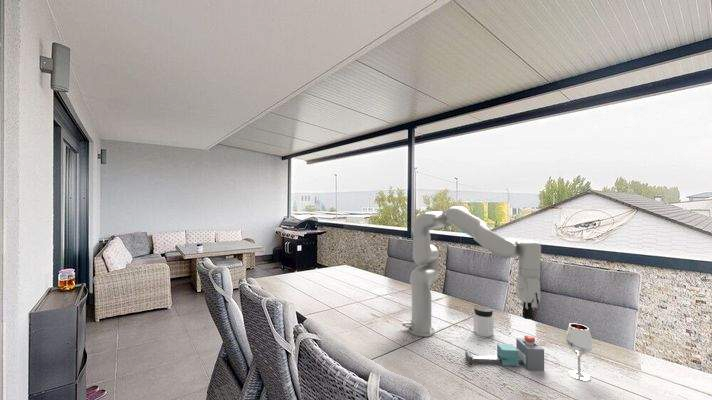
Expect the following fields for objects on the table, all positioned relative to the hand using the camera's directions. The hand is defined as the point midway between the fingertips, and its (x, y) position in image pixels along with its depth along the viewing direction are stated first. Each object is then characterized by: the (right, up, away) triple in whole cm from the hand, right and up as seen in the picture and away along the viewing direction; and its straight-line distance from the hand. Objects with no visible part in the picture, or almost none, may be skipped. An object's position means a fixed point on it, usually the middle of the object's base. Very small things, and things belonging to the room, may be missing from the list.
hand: (527, 318), depth 116 cm
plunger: (0, -13, -1) cm, 13 cm away
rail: (-13, -18, 0) cm, 22 cm away
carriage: (-8, -18, 0) cm, 20 cm away
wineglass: (+14, -18, -9) cm, 24 cm away
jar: (-6, -19, +27) cm, 33 cm away
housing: (0, -18, -1) cm, 18 cm away
